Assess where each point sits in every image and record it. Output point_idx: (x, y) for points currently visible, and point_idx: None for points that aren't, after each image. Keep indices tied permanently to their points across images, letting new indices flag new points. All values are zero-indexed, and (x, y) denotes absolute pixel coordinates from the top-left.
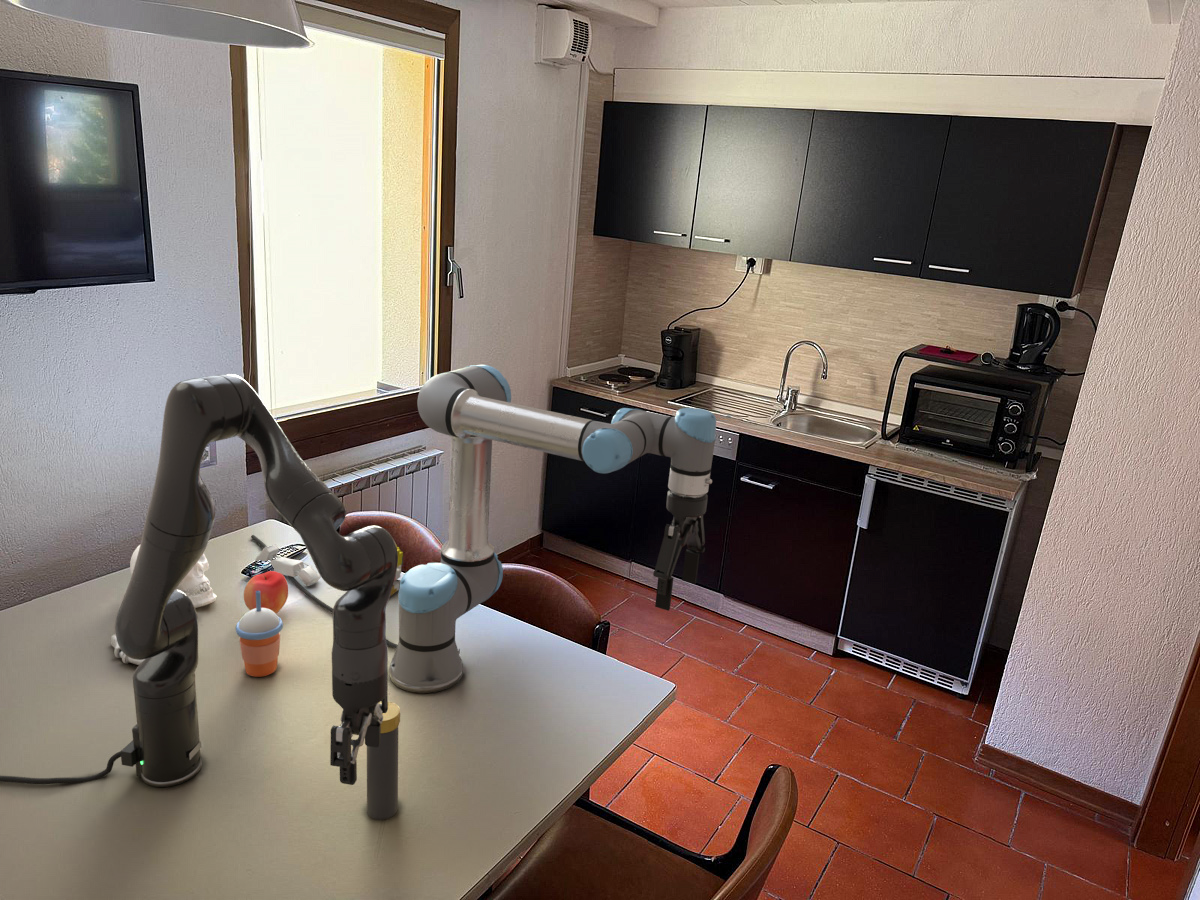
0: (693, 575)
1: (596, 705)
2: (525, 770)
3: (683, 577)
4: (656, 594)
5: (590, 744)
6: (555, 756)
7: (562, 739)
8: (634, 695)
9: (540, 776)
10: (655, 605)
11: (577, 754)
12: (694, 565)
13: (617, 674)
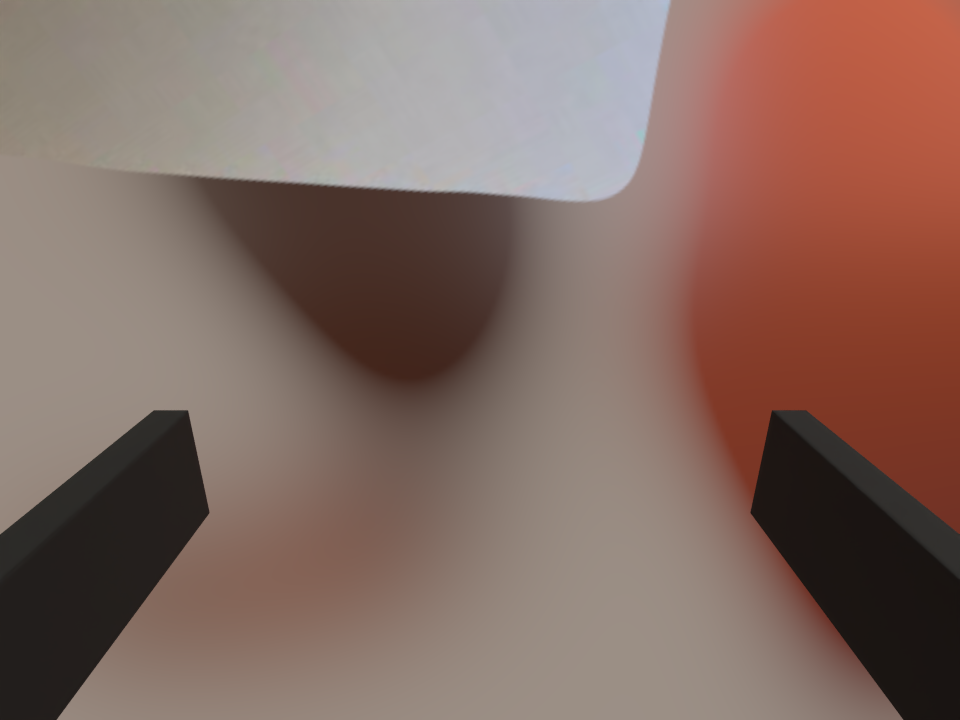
0: (791, 547)
1: (426, 33)
2: (9, 4)
3: (786, 434)
4: (73, 475)
5: (243, 120)
6: (124, 52)
7: (203, 26)
8: (548, 122)
9: (25, 62)
10: (148, 417)
11: (179, 109)
12: (860, 631)
13: (639, 4)
